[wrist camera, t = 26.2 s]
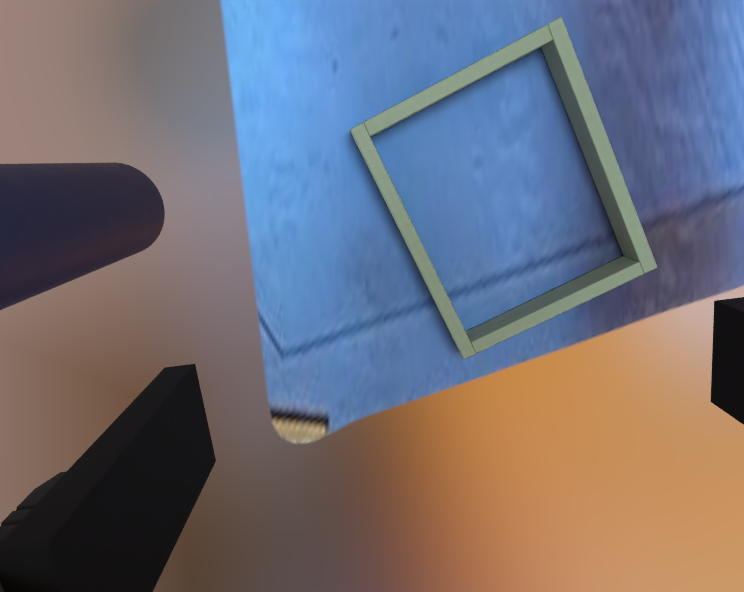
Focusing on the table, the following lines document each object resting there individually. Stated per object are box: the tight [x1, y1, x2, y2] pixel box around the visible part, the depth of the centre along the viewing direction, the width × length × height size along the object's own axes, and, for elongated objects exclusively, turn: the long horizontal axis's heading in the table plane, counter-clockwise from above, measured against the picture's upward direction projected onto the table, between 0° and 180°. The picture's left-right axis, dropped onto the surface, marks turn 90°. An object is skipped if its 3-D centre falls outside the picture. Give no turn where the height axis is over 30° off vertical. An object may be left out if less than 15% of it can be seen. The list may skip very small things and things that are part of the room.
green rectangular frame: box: [350, 17, 657, 359], centre depth 38 cm, size 15×18×2 cm
